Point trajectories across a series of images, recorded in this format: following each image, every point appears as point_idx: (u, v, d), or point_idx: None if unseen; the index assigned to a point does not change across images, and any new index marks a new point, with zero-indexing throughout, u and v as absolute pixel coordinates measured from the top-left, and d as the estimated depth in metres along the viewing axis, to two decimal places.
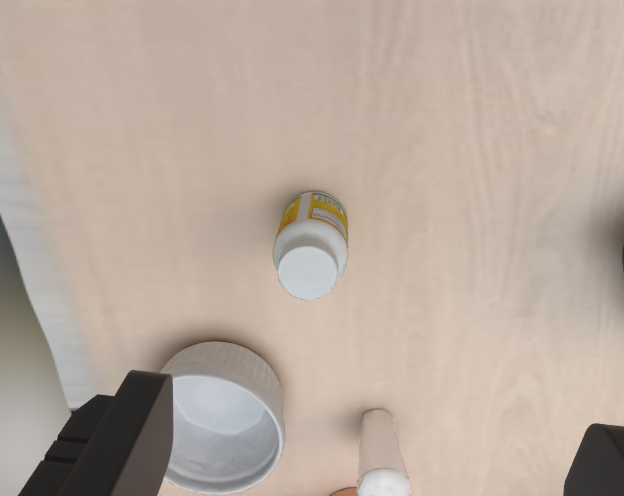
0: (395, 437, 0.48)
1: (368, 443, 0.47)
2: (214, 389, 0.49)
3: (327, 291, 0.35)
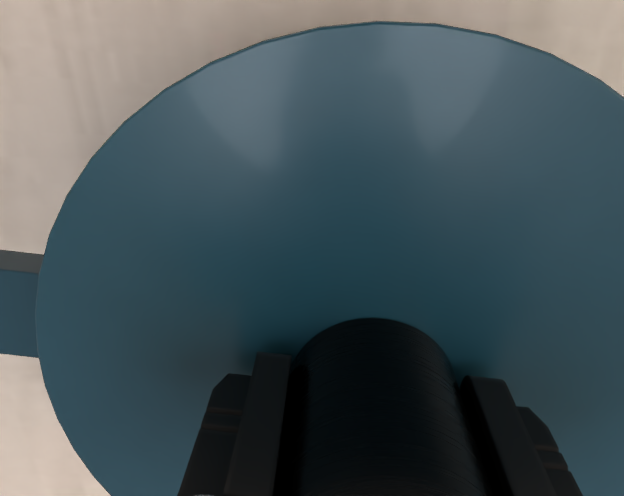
0: None
1: None
2: None
3: None
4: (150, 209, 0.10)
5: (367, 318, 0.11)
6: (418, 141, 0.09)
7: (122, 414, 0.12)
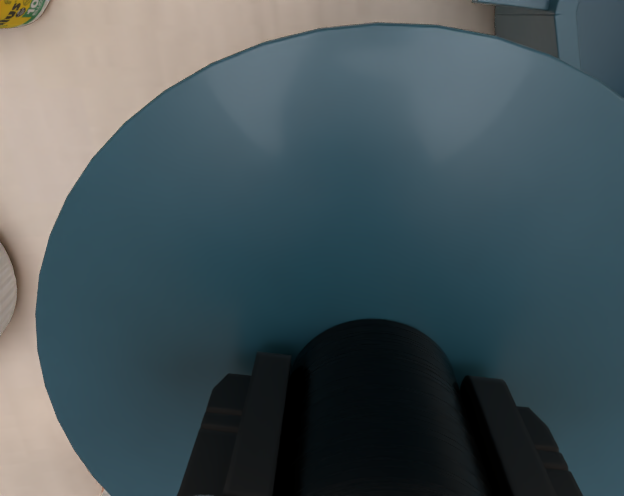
0: None
1: None
2: None
3: None
4: (150, 210, 0.10)
5: (367, 319, 0.11)
6: (418, 142, 0.09)
7: (122, 415, 0.12)
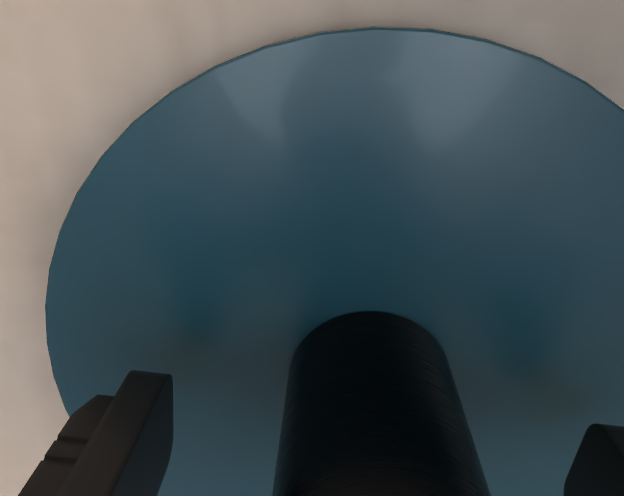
0: None
1: None
2: None
3: None
4: (157, 206, 0.10)
5: (365, 311, 0.11)
6: (414, 141, 0.10)
7: None
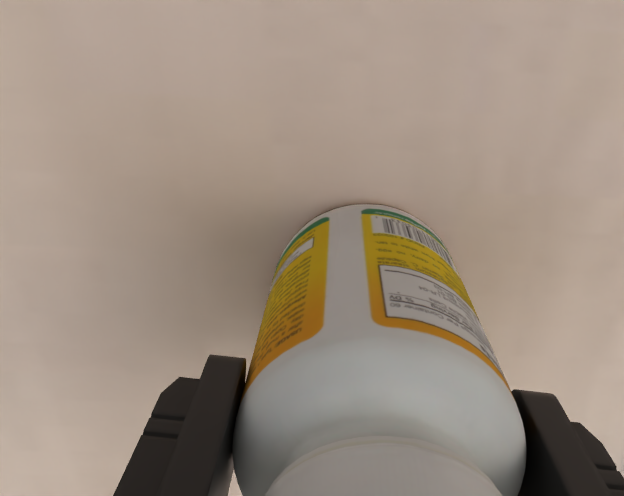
0: None
1: None
2: None
3: None
4: None
5: None
6: None
7: None
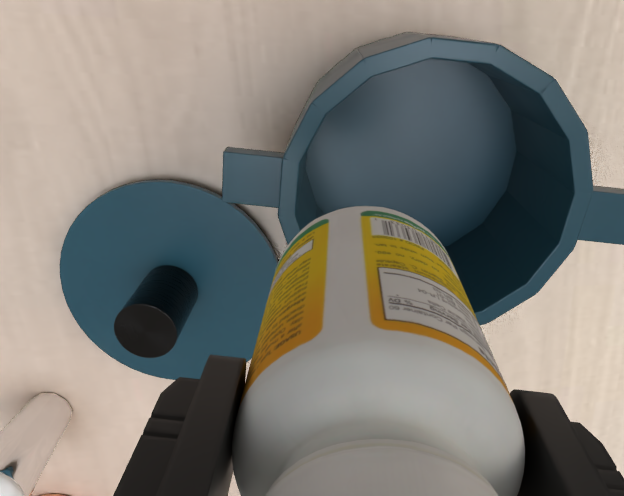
0: (44, 428, 0.36)
1: None
2: None
3: None
4: (95, 231, 0.33)
5: (165, 265, 0.33)
6: (170, 212, 0.32)
7: (89, 301, 0.35)
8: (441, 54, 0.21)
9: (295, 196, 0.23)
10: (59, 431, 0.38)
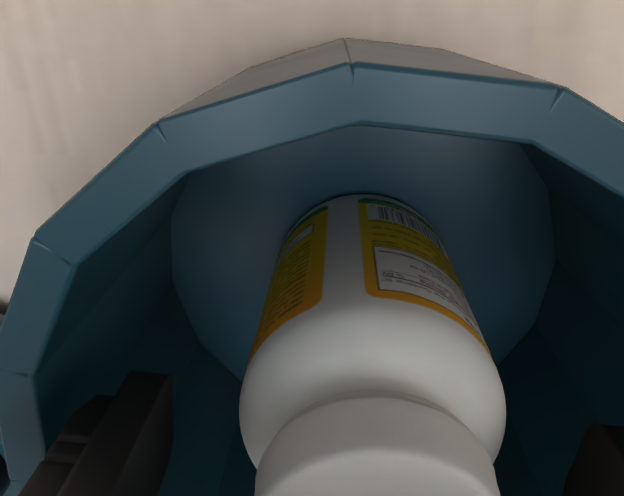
0: None
1: None
2: None
3: None
4: None
5: None
6: None
7: None
8: (387, 114, 0.07)
9: (40, 443, 0.09)
10: None
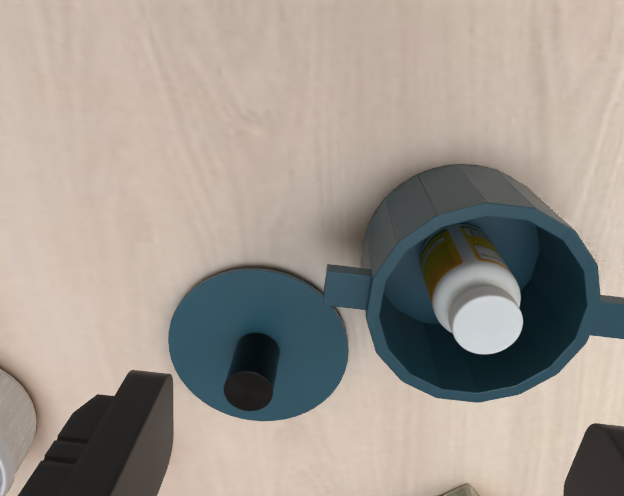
0: None
1: None
2: None
3: (507, 345, 0.30)
4: (200, 306, 0.41)
5: (255, 332, 0.41)
6: (262, 293, 0.40)
7: (190, 359, 0.43)
8: (494, 214, 0.29)
9: (380, 304, 0.31)
10: None
